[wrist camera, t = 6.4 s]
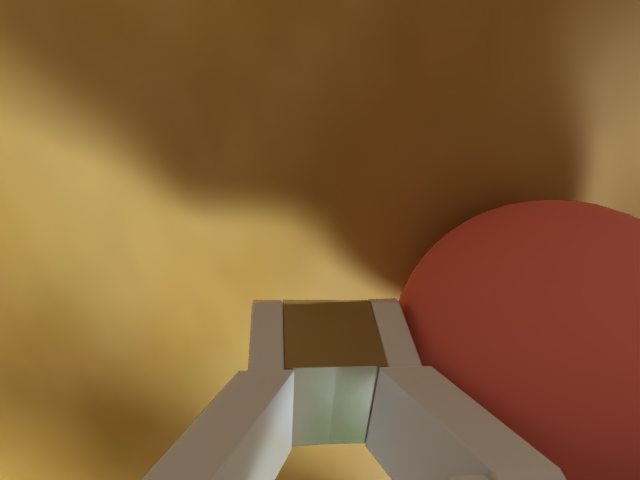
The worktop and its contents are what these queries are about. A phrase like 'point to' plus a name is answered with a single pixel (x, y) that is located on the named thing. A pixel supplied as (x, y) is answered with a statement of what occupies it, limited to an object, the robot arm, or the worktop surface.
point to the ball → (541, 327)
